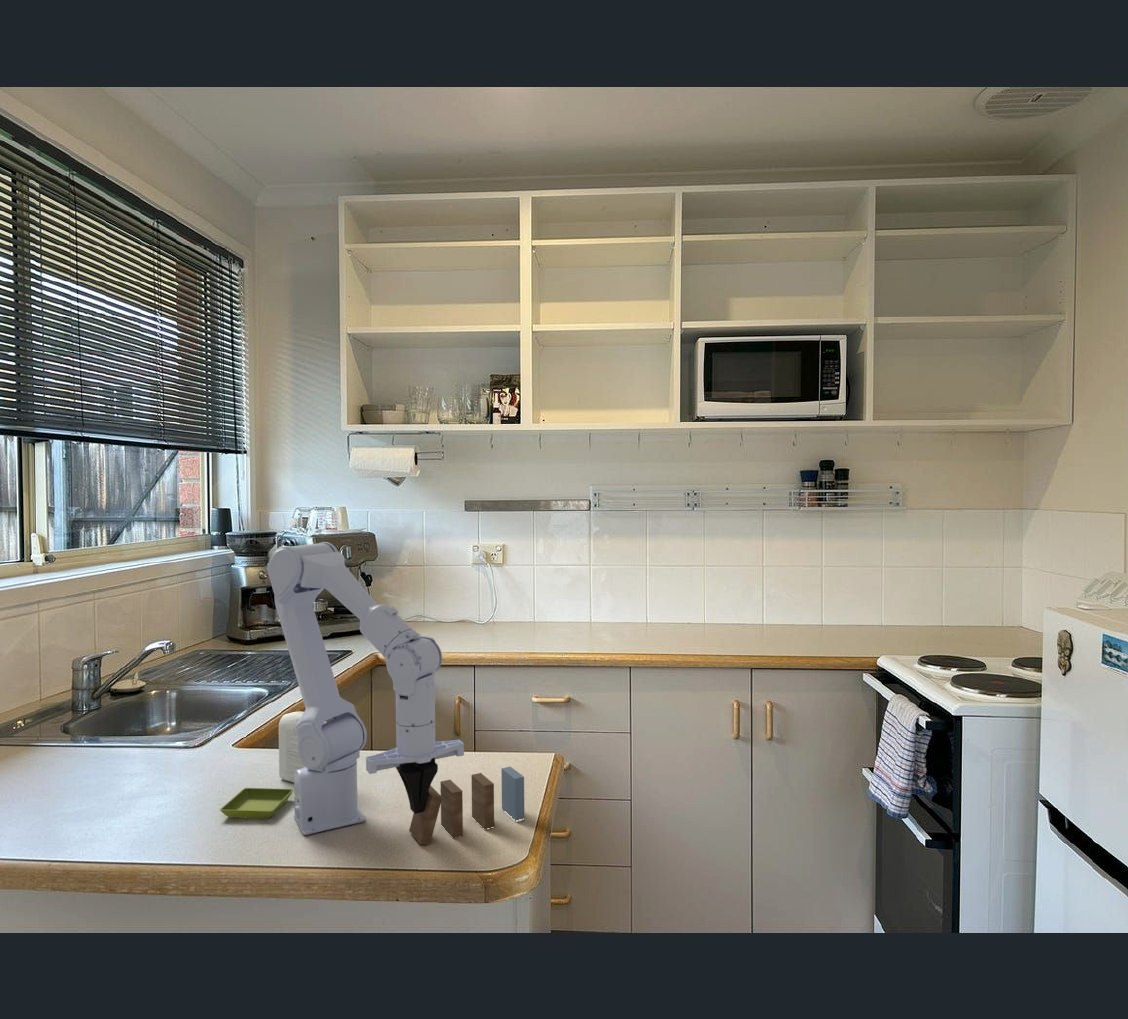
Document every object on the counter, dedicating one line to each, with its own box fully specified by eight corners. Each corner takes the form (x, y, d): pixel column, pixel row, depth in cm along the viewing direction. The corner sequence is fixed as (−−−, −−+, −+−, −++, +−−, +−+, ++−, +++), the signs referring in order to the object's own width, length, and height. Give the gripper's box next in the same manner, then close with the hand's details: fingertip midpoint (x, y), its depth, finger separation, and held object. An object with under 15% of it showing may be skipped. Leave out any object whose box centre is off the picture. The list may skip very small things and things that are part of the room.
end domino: (515, 822, 119) (515, 778, 119) (501, 810, 123) (501, 768, 123) (524, 820, 120) (524, 776, 120) (510, 808, 124) (510, 766, 124)
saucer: (294, 800, 129) (294, 788, 129) (272, 824, 120) (272, 811, 120) (244, 799, 129) (244, 787, 129) (218, 822, 121) (218, 810, 120)
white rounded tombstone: (334, 782, 135) (333, 713, 135) (316, 791, 132) (314, 720, 131) (294, 771, 140) (293, 705, 140) (275, 779, 137) (274, 712, 136)
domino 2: (452, 838, 114) (452, 793, 114) (441, 825, 118) (440, 781, 118) (462, 836, 115) (462, 790, 114) (450, 823, 119) (450, 779, 119)
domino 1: (420, 844, 111) (432, 796, 112) (409, 830, 116) (421, 784, 116) (430, 844, 112) (442, 797, 113) (418, 831, 116) (430, 785, 117)
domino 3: (484, 830, 117) (484, 785, 116) (471, 818, 121) (471, 774, 121) (494, 828, 117) (493, 783, 117) (481, 815, 122) (480, 772, 121)
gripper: (374, 737, 106) (376, 832, 106) (471, 720, 113) (472, 809, 114) (361, 723, 112) (363, 813, 113) (453, 707, 119) (454, 792, 120)
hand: (416, 810), depth 114 cm, fingers closed
